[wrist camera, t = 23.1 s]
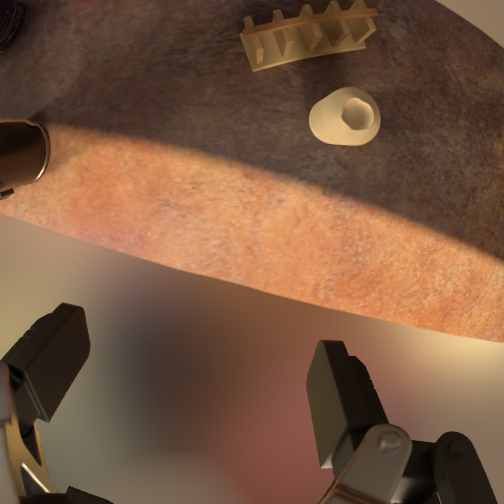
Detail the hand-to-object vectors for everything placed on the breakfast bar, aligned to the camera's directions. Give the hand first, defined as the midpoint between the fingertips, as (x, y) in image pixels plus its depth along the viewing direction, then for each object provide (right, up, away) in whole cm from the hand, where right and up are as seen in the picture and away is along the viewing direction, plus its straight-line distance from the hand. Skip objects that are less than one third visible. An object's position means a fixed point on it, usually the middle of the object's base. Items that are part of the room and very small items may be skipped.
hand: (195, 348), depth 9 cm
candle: (+11, +18, +23) cm, 31 cm away
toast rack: (+8, +28, +19) cm, 35 cm away
